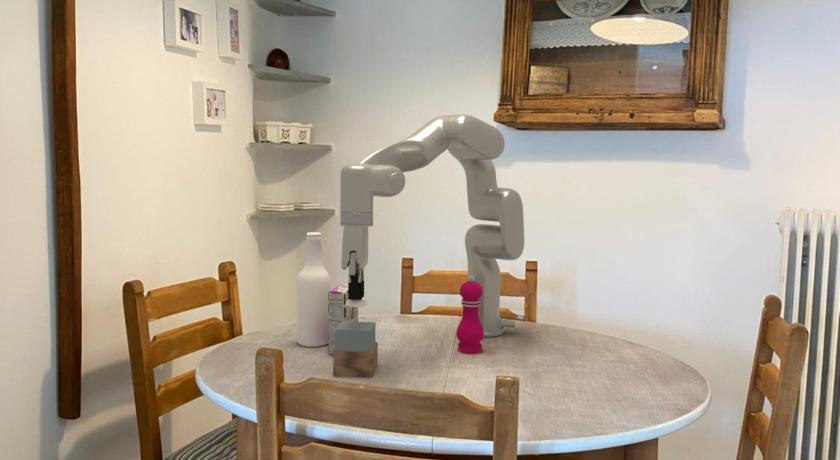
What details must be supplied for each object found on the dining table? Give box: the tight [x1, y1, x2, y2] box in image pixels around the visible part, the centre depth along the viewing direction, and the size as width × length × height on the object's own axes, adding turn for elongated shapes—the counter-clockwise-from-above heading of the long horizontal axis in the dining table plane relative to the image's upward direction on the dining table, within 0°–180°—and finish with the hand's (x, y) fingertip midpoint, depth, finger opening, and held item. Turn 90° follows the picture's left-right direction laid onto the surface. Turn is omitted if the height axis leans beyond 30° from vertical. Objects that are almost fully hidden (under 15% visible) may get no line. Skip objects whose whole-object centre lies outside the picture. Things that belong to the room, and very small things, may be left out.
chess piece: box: [345, 264, 368, 308], centre depth 149 cm, size 5×5×10 cm
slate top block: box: [335, 321, 376, 352], centre depth 150 cm, size 8×8×5 cm
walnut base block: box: [332, 341, 379, 379], centre depth 151 cm, size 9×9×6 cm
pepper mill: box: [456, 275, 485, 355], centre depth 169 cm, size 7×7×20 cm
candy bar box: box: [328, 283, 359, 356], centre depth 168 cm, size 11×5×16 cm, turn 168°
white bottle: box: [296, 231, 331, 348], centre depth 173 cm, size 9×9×30 cm
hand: (356, 297), depth 150 cm, fingers closed on chess piece
